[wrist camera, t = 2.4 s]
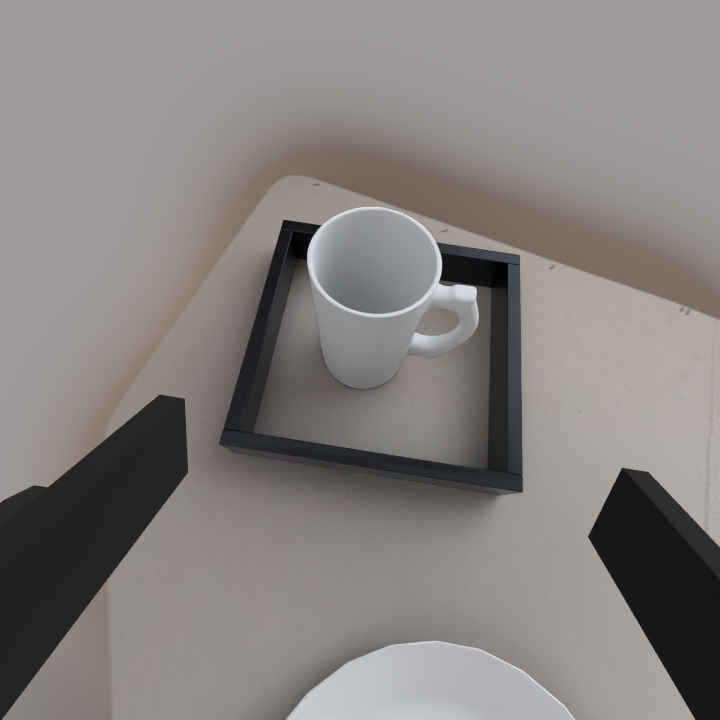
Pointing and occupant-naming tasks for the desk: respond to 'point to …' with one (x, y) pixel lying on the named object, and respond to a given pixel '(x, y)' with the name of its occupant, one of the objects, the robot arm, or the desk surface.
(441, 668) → the plate
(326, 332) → the mug
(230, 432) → the black square frame
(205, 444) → the desk surface
